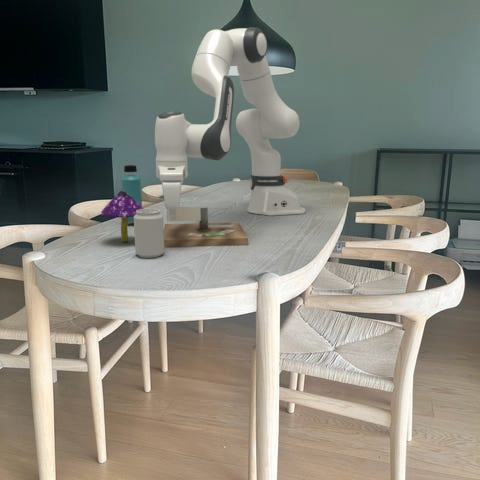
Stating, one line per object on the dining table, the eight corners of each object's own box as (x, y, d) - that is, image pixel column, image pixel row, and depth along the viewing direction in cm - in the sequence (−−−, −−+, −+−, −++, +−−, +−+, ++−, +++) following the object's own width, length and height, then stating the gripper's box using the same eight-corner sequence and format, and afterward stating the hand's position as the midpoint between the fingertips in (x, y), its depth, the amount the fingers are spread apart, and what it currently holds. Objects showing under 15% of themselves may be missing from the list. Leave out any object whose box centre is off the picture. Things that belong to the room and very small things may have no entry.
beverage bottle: (146, 223, 166) (144, 164, 161) (136, 227, 160) (133, 166, 155) (130, 222, 168) (127, 164, 163) (119, 225, 162) (116, 165, 157)
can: (137, 251, 129) (135, 207, 127) (165, 251, 130) (164, 207, 127) (133, 259, 122) (131, 212, 119) (163, 258, 123) (161, 212, 120)
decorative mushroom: (125, 249, 131) (122, 195, 128) (93, 243, 138) (89, 191, 134) (156, 240, 142) (154, 189, 138) (125, 235, 148) (122, 186, 144)
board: (239, 228, 158) (239, 221, 158) (248, 244, 137) (248, 237, 136) (165, 230, 155) (164, 223, 155) (162, 247, 134) (162, 239, 134)
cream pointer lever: (232, 227, 149) (232, 206, 147) (233, 229, 146) (233, 207, 145) (167, 228, 147) (166, 207, 145) (167, 230, 144) (166, 208, 142)
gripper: (162, 167, 145) (163, 213, 149) (159, 175, 125) (160, 226, 129) (183, 167, 146) (184, 212, 149) (183, 174, 126) (184, 226, 130)
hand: (173, 219), depth 139 cm, fingers closed
